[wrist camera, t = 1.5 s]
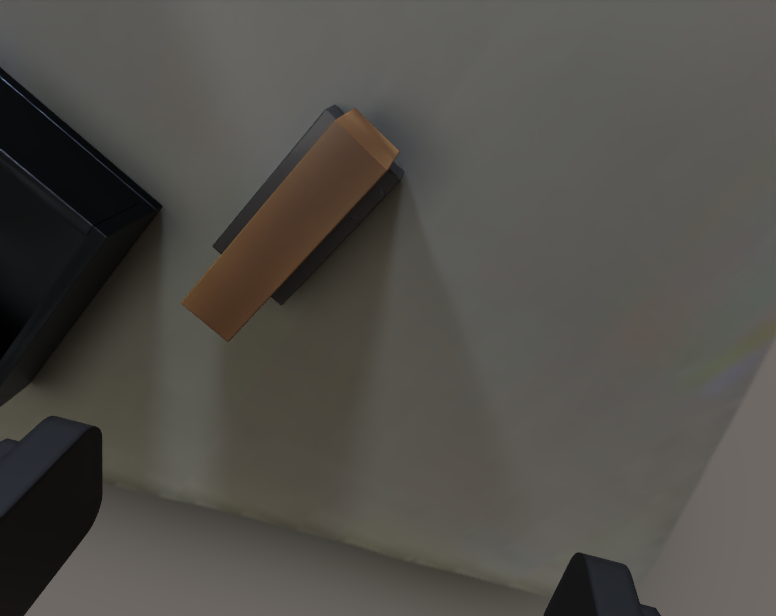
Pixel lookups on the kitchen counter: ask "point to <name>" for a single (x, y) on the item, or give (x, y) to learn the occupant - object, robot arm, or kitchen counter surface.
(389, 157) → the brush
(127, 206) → the black open box
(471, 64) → the kitchen counter surface
